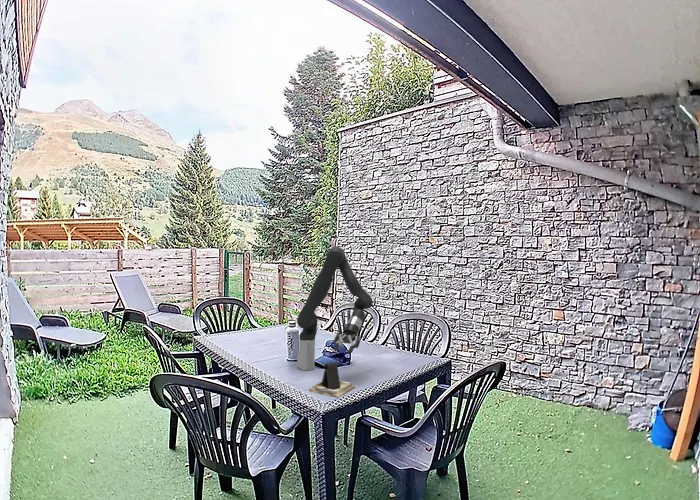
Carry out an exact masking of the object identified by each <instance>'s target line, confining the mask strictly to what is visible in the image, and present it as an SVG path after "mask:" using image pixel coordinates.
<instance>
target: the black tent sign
mask: <svg viewBox="0 0 700 500" xmlns="http://www.w3.org/2000/svg"><path fill="white" fill-rule="evenodd" d="M321 381H322V383H321V385H322V386H323V387H325V388H327V389H331V390H334V389H339V388H340V382H339V381H340V377H339V370H338V363H337V362H331V363H326V364H324V371H323V376H322V380H321Z"/></svg>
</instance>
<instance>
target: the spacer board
mask: <svg viewBox="0 0 700 500" xmlns="http://www.w3.org/2000/svg"><path fill="white" fill-rule="evenodd" d="M339 382H340V388H339V389H334V390H331V389H327V388H325V387H323V386H322V385H321V383H322V380H321V381H319V382H318V383H315V384H313V385H312V386H311V387H310V388H308V391H309V392H311V393H315V394H316V393H317V394H318V395H319V394H320V395H325V396H329V397H333V398H335V399H336V398H337V399H338V398H340V397H342V396H344V395H346V394H347V393H349V392H350V391H352V390H353V389H355V387H356V385H353V383H352V382H348V381H345V380H344V381H342V380H339Z"/></svg>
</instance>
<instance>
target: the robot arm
mask: <svg viewBox="0 0 700 500" xmlns="http://www.w3.org/2000/svg"><path fill="white" fill-rule="evenodd" d="M324 259H325V260H324V263H323V265H322V268H321V269H320V272H319V273H318V275H317V277H316V278H315V281H314V283H313V285H312V288H311V290H310V292H309V295H308V297H307V299H306V301H305V303H304V305H303V307H302V308H301V309H300V312H299V314H298V315H297V317H296V322H297V326H298V327H299V328H300V329H302V331H301V332H300V333H299V335H298V336H299V337H298V338H299V340H298V351H297V358H296V359H297V360H296V363H297V364H296V365H297V366H296V368H297V369H298V370H302V371H312V370H314V369H315V360H316V357H315V356H316V335H317V333H318V316H317V313H315V311H316V310H317V308H318V307H319V306H320V305H321V303H322V302H323V301H324V300H325V299H326V297H327V296H328V293H329V291H330V287H331V286H332V282H333V279H334V276H335V274H336V271H337V270H338V269H339V271H340V273H341V275H342V278H343V280H344V284H345V285H346V287H347V289H348V291H349V292H350V294H351V295H352V296H353V297H357V299H356V300H355V301H354V303H353V304H354V305H353V312H352V313H351V315H350V318H349V319H348V322H347V324H346V325H345V328H344V329H343V332H342V333H340V332H337V333H336V335H335V336H334V339H333V340H332V341H333V343H334V346H333V350H334V352H337V351H338V349H339V347H340V345H342V344H350V345H349V349H348V350H347V353H348V355H351V354H352V353H353V351H354V349H358V348H359V346H360V342H361V341H362V339H361V336H359V332H360V330H361V327H362V324H363V321H364V319H365V317H366V312H365V311H364V310H365V309H366V310H367V309H371V307H372V306H373V304H374V303H373V299H372V297H371V295H370V294H369V293H368V292H367V291H366V290H365V289H364V288H363V286H362V285H361V283H360V282H359V279H358V278H357V277H356V276H355V273H354V272H353V269H352V268H351V265H350V264H349V261H348V259H347V257H346V254H345V252H344V249H342V247H340V246H333V247H331V248H330V249H329V250H328V252H327V253H326V257H325V258H324ZM354 342H355V343H354Z"/></svg>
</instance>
